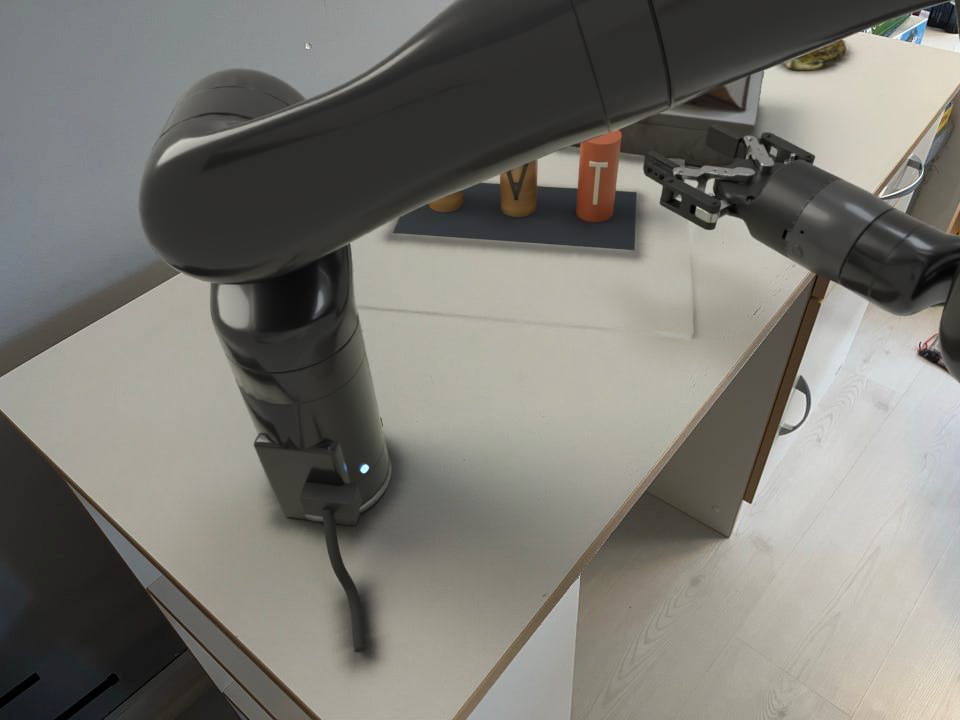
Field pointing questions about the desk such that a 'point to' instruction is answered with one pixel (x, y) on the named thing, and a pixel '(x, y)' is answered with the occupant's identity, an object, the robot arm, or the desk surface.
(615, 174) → the pillar
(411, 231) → the word mat
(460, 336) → the desk surface
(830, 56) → the olive rounded lump
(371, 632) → the desk surface
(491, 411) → the desk surface
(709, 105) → the bible
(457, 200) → the pillar
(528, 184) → the light wooden cylinder
